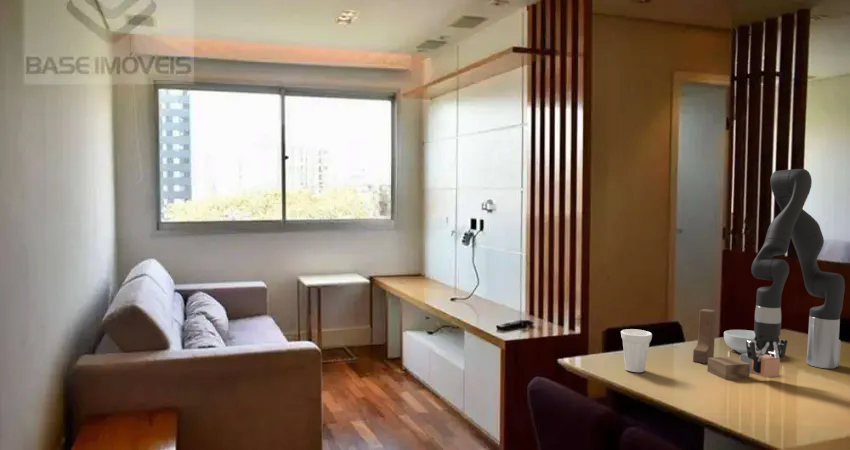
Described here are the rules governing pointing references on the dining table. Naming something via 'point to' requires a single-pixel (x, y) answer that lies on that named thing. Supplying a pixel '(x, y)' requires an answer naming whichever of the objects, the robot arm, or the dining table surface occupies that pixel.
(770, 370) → the terracotta cube
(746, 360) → the slate cube
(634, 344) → the cup
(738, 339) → the cereal bowl
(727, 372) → the walnut base block
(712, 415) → the dining table surface
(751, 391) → the dining table surface
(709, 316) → the wooden block
